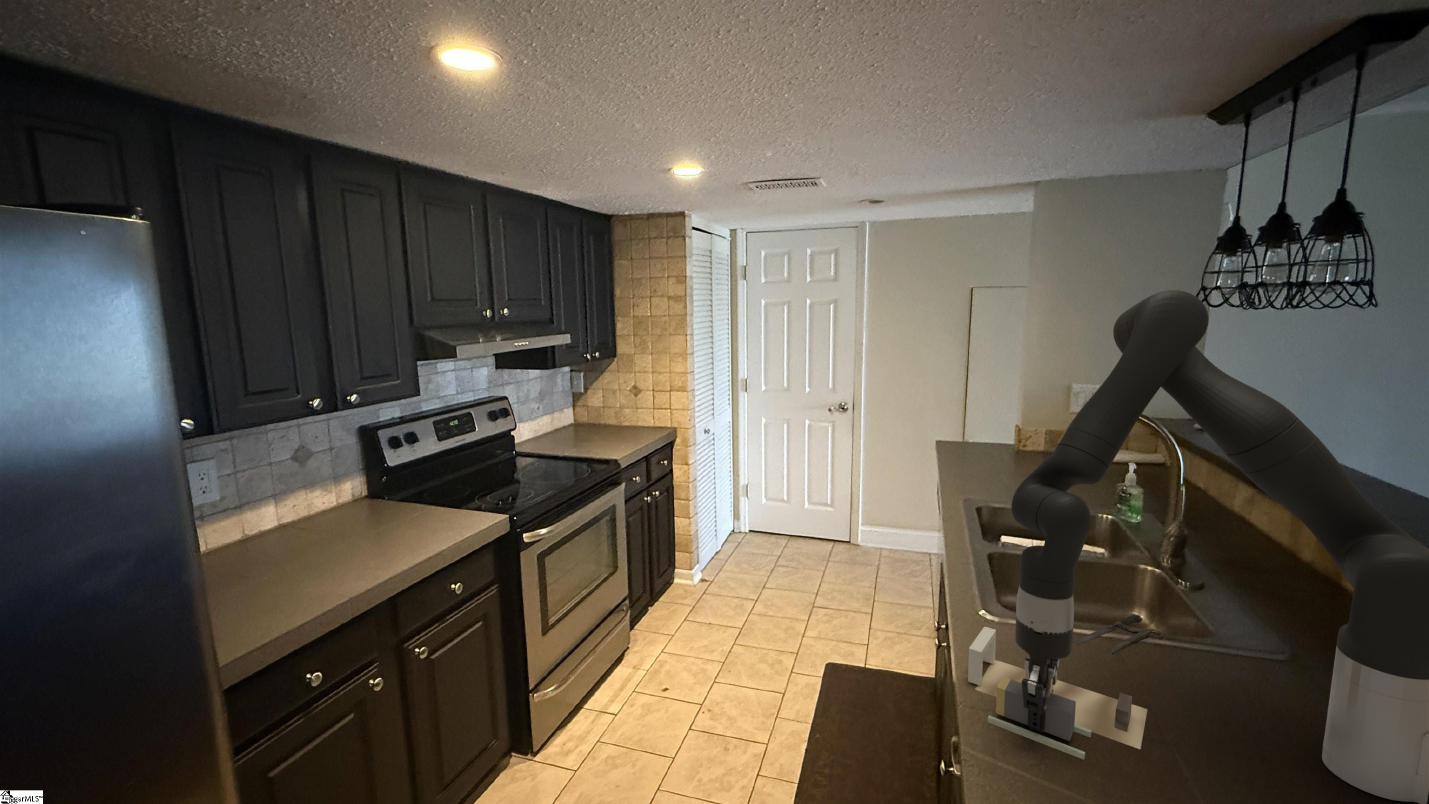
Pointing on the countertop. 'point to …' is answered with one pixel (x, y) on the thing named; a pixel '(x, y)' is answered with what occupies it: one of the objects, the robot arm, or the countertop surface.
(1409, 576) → the robot arm
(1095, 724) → the flat beige board
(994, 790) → the countertop surface
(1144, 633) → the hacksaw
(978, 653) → the strap
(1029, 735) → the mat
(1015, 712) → the long gray brick
